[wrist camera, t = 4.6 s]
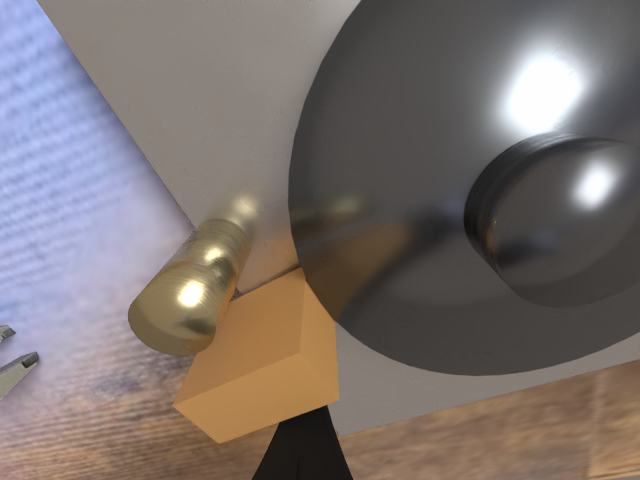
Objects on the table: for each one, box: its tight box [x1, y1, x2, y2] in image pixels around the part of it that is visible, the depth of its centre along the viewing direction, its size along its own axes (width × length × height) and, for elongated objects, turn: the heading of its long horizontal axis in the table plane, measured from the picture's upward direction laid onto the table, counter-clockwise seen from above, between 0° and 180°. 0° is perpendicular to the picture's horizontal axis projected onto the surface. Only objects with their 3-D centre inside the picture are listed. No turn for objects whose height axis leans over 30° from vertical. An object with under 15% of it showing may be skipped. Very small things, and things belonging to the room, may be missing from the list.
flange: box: [172, 0, 640, 444], centre depth 8 cm, size 18×14×4 cm
